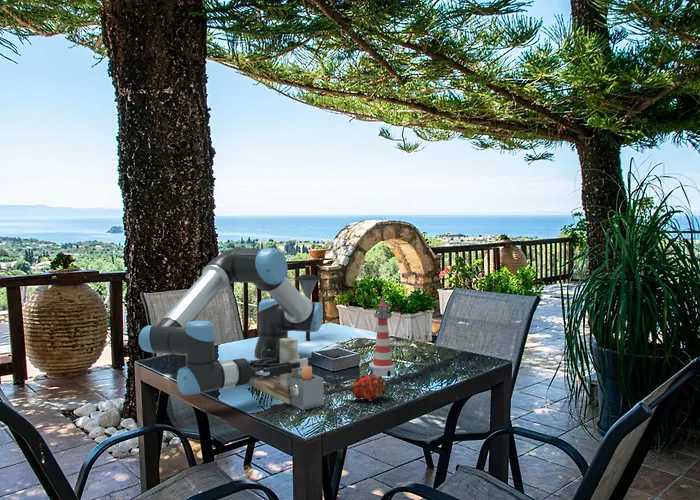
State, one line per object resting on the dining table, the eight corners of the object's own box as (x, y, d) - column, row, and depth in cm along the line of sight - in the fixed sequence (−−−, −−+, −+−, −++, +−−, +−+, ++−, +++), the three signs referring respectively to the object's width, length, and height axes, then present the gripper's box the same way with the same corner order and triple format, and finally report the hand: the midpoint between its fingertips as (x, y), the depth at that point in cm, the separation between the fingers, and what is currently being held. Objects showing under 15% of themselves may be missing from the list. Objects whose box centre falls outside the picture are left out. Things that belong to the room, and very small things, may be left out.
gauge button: (308, 385, 161) (308, 365, 161) (313, 387, 158) (313, 367, 158) (299, 387, 159) (299, 367, 159) (305, 389, 157) (305, 369, 156)
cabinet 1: (263, 378, 187) (263, 363, 187) (274, 382, 181) (273, 368, 181) (243, 382, 182) (243, 367, 182) (253, 386, 177) (253, 371, 176)
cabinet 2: (310, 399, 164) (310, 373, 163) (323, 405, 158) (323, 378, 158) (288, 404, 159) (288, 377, 159) (301, 410, 154) (301, 382, 153)
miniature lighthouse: (377, 380, 184) (377, 292, 183) (364, 374, 192) (364, 289, 191) (400, 377, 188) (400, 290, 187) (386, 371, 196) (386, 288, 195)
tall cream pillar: (290, 386, 172) (289, 336, 171) (303, 392, 165) (303, 340, 165) (274, 389, 168) (274, 338, 168) (287, 395, 162) (287, 342, 161)
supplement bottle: (284, 372, 194) (284, 339, 194) (275, 377, 188) (275, 343, 187) (266, 371, 196) (266, 338, 196) (257, 376, 190) (257, 341, 189)
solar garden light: (289, 340, 250) (288, 275, 249) (310, 336, 259) (309, 273, 257) (305, 344, 241) (305, 276, 240) (326, 340, 250) (326, 275, 248)
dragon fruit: (390, 403, 165) (352, 413, 161) (381, 381, 171) (344, 390, 168) (393, 386, 159) (354, 396, 156) (383, 364, 165) (345, 372, 162)
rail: (275, 382, 182) (275, 375, 181) (311, 399, 164) (311, 391, 164) (253, 386, 177) (253, 379, 177) (288, 404, 159) (288, 396, 159)
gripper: (221, 379, 162) (288, 367, 177) (247, 393, 149) (318, 379, 163) (220, 354, 162) (288, 344, 176) (247, 366, 148) (318, 354, 163)
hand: (302, 361), depth 170 cm, fingers closed on tall cream pillar, 4 cm apart
